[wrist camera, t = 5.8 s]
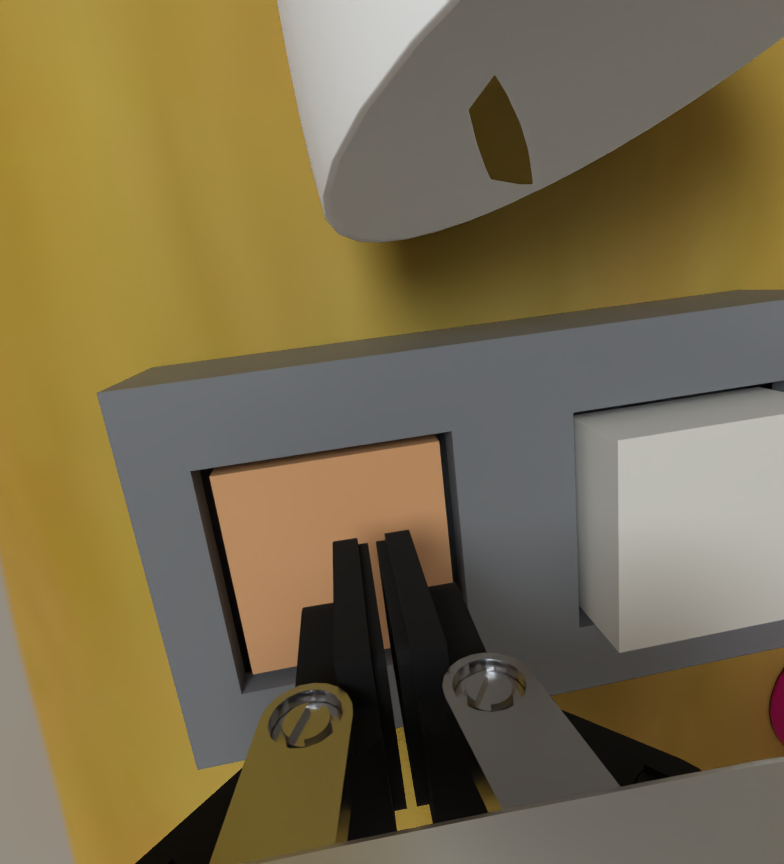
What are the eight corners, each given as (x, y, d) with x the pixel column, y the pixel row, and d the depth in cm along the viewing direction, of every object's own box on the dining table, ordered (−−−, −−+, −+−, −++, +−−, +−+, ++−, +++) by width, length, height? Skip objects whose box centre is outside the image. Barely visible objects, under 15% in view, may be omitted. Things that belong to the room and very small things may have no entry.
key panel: (738, 290, 17) (861, 289, 13) (723, 571, 20) (822, 638, 16) (151, 367, 15) (96, 392, 11) (222, 666, 18) (197, 769, 14)
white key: (758, 386, 15) (842, 404, 12) (746, 565, 16) (820, 612, 14) (567, 416, 14) (617, 440, 12) (573, 599, 15) (619, 653, 13)
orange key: (420, 418, 15) (439, 441, 13) (438, 587, 17) (458, 634, 14) (225, 447, 15) (209, 477, 12) (261, 619, 16) (253, 674, 14)
